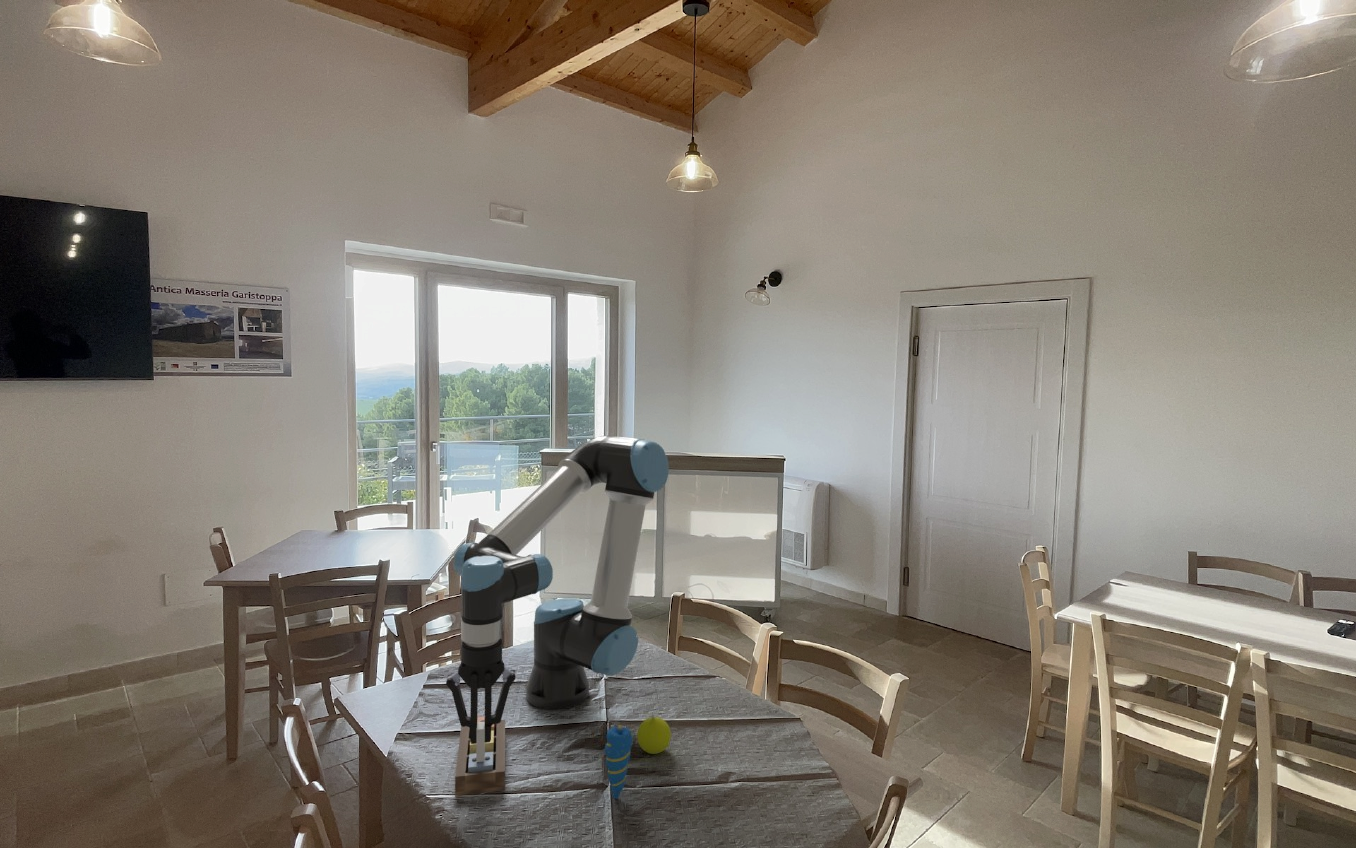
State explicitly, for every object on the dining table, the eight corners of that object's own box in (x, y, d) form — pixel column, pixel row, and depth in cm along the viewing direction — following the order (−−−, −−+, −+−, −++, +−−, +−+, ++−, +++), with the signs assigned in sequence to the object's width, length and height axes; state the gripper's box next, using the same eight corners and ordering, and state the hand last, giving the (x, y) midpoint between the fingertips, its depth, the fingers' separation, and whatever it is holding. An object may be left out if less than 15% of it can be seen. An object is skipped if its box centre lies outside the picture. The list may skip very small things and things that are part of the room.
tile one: (494, 729, 147) (494, 714, 146) (493, 740, 142) (493, 725, 142) (472, 731, 146) (472, 716, 145) (471, 742, 141) (471, 728, 141)
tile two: (493, 744, 141) (493, 729, 141) (493, 756, 136) (493, 741, 136) (470, 746, 140) (470, 732, 139) (469, 759, 135) (469, 744, 135)
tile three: (493, 766, 135) (493, 750, 135) (492, 779, 131) (492, 764, 130) (469, 768, 134) (469, 753, 134) (468, 782, 130) (468, 766, 129)
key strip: (504, 736, 149) (505, 719, 148) (504, 790, 130) (505, 771, 130) (461, 740, 146) (461, 723, 146) (455, 796, 128) (455, 776, 128)
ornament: (603, 790, 131) (605, 715, 130) (630, 789, 132) (632, 715, 130) (603, 807, 126) (605, 730, 125) (631, 807, 127) (633, 729, 125)
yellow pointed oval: (644, 764, 140) (645, 717, 139) (631, 746, 147) (633, 701, 146) (675, 756, 143) (677, 710, 142) (662, 739, 150) (663, 695, 149)
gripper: (516, 629, 135) (515, 743, 137) (447, 633, 132) (446, 750, 134) (517, 645, 128) (515, 765, 130) (443, 650, 125) (443, 773, 127)
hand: (480, 757), depth 132 cm, fingers closed
